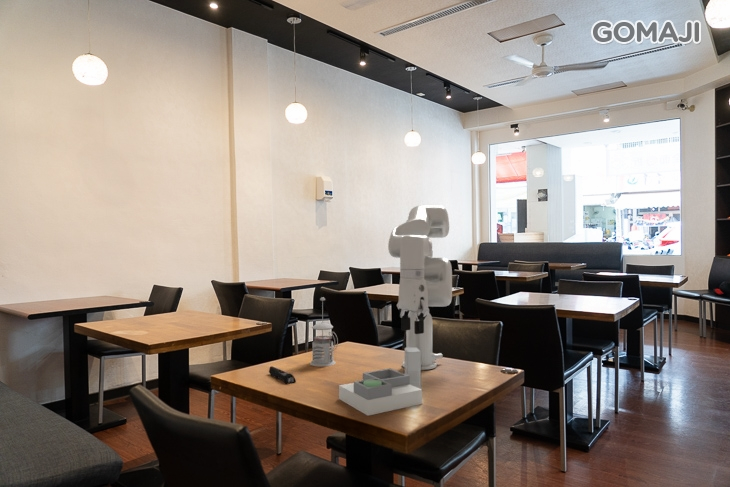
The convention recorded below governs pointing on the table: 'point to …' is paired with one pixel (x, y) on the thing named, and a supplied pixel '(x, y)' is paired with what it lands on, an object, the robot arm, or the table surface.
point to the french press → (323, 345)
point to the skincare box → (413, 366)
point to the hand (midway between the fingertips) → (412, 331)
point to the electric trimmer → (282, 375)
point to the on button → (372, 383)
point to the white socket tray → (381, 392)
